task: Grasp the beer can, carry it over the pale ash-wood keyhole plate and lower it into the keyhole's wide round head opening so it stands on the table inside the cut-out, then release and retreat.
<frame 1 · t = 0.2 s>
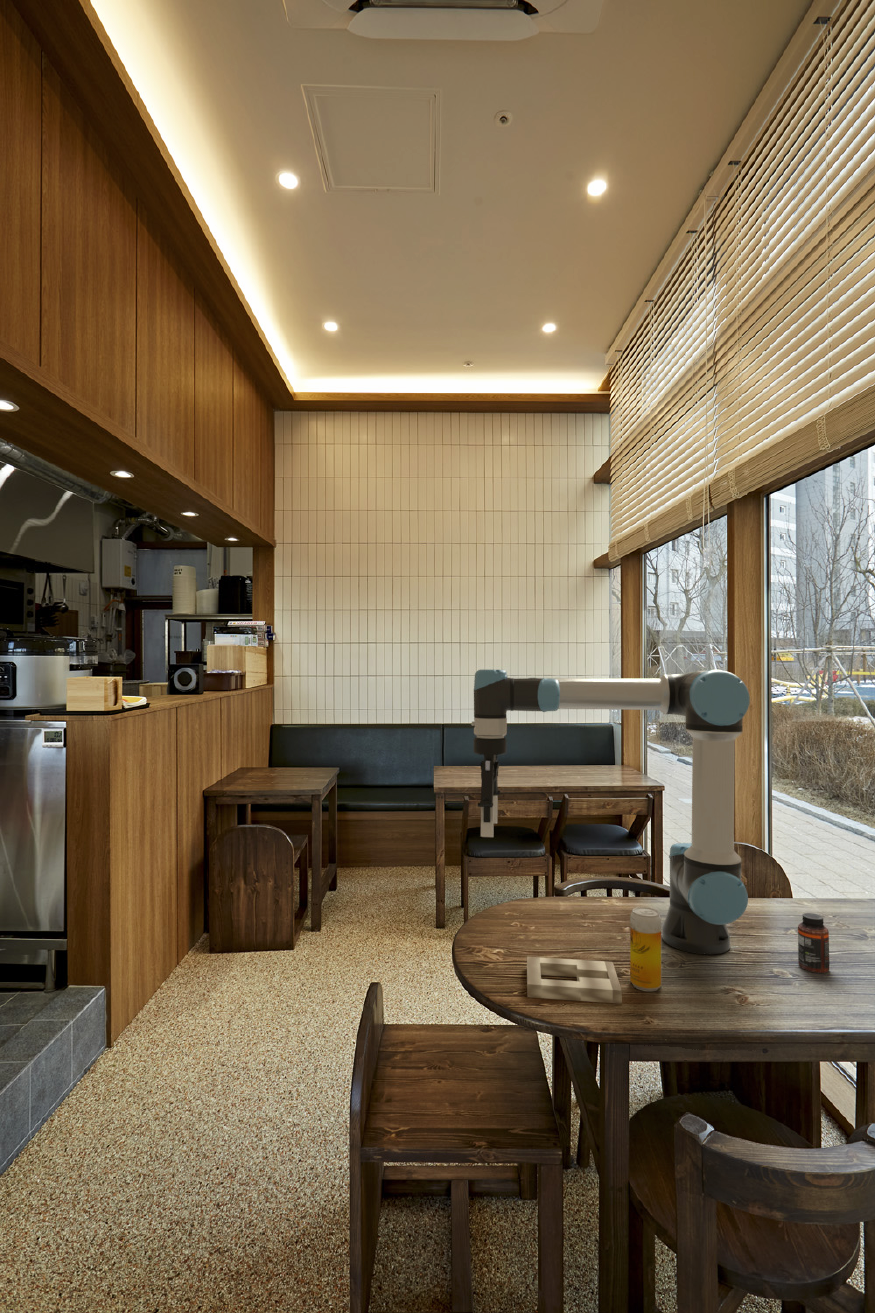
hand: (489, 829, 152), 28 cm above the table, fingers open, 13 cm apart
keyhole plate: (571, 985, 136), on the table
beer can: (645, 986, 136), on the table
supplement bottle: (813, 969, 145), on the table
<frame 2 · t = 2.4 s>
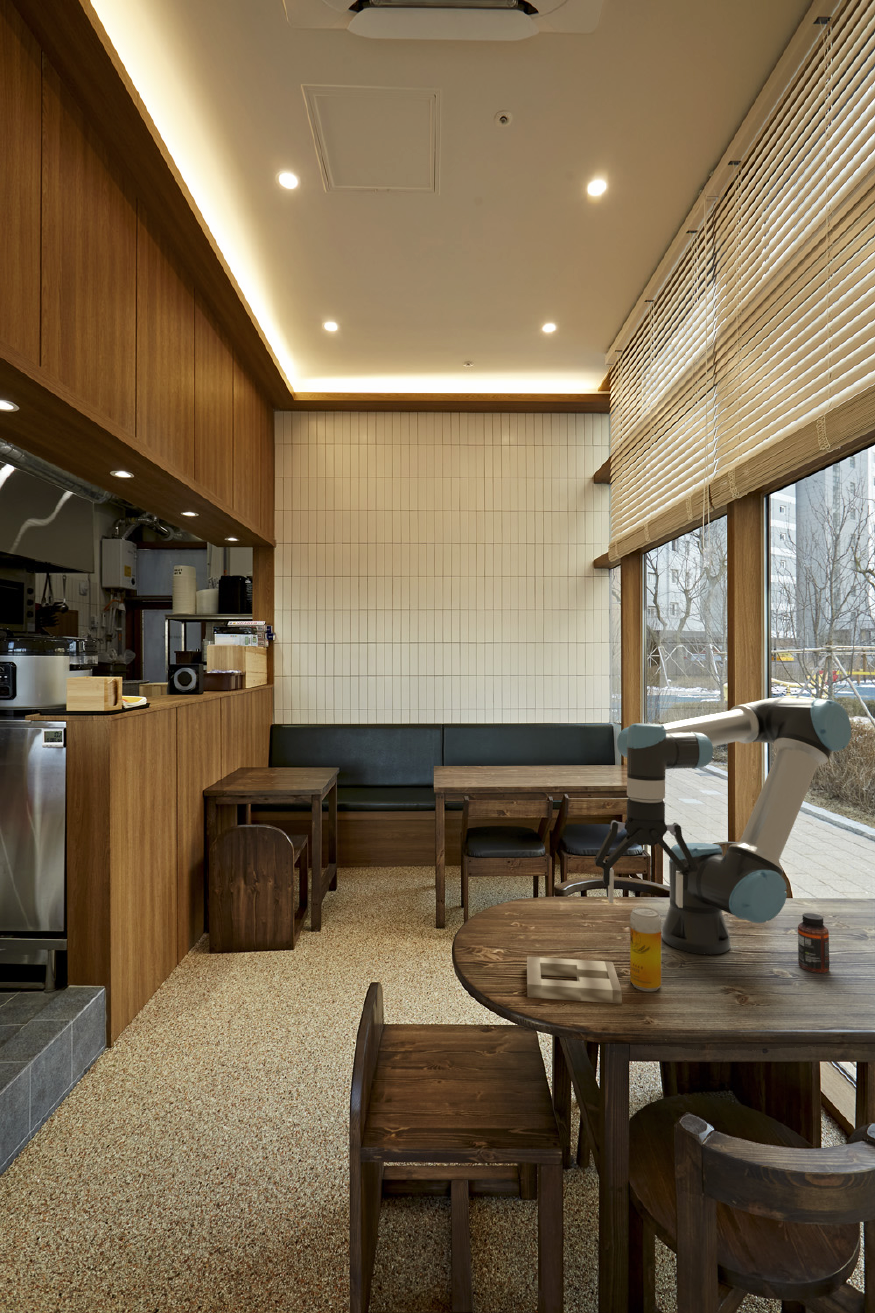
hand: (644, 903, 136), 17 cm above the table, fingers open, 13 cm apart
nothing on the table moved.
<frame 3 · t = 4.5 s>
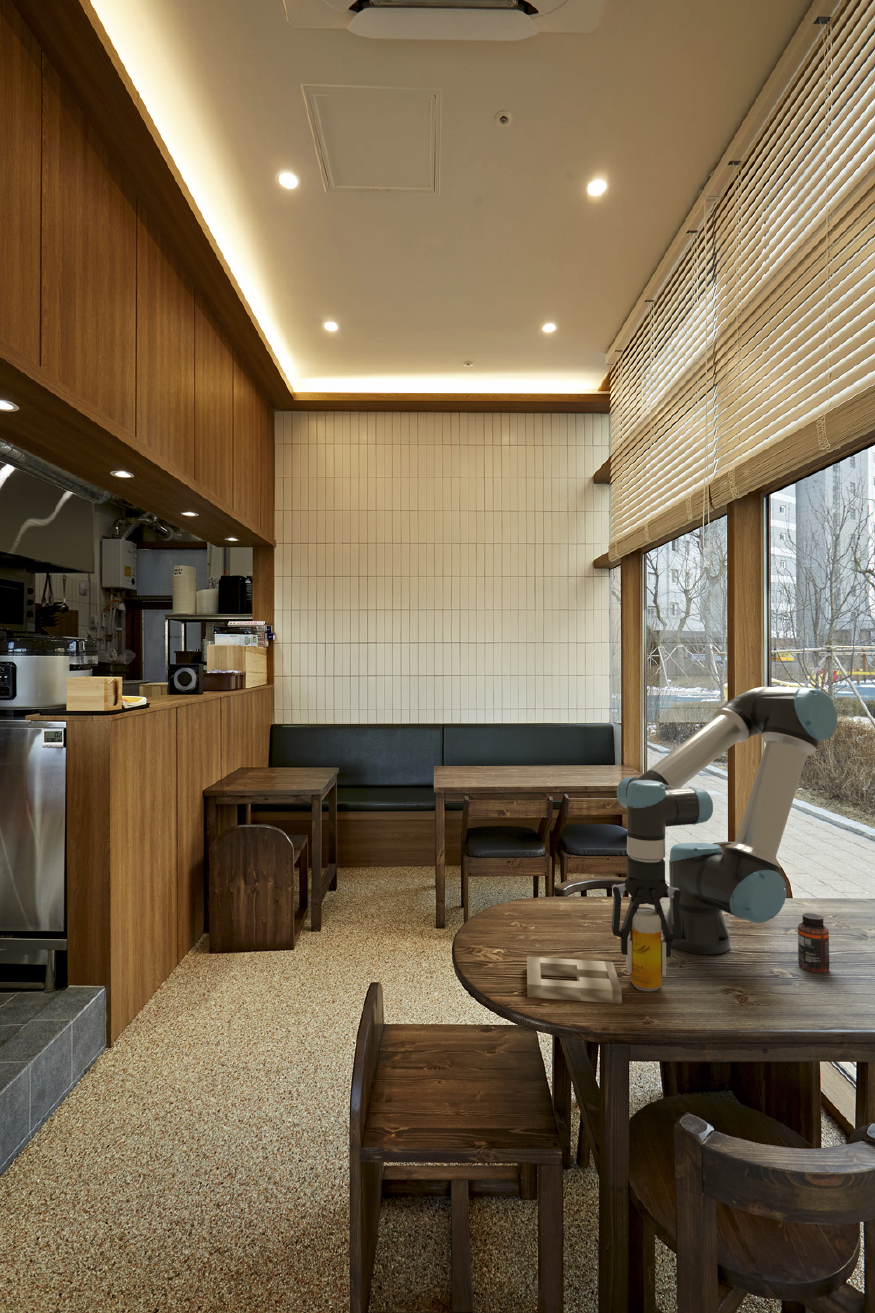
hand: (645, 971, 136), 3 cm above the table, fingers closed on beer can, 6 cm apart
beer can: (645, 986, 136), on the table, touching gripper
everything else where it was.
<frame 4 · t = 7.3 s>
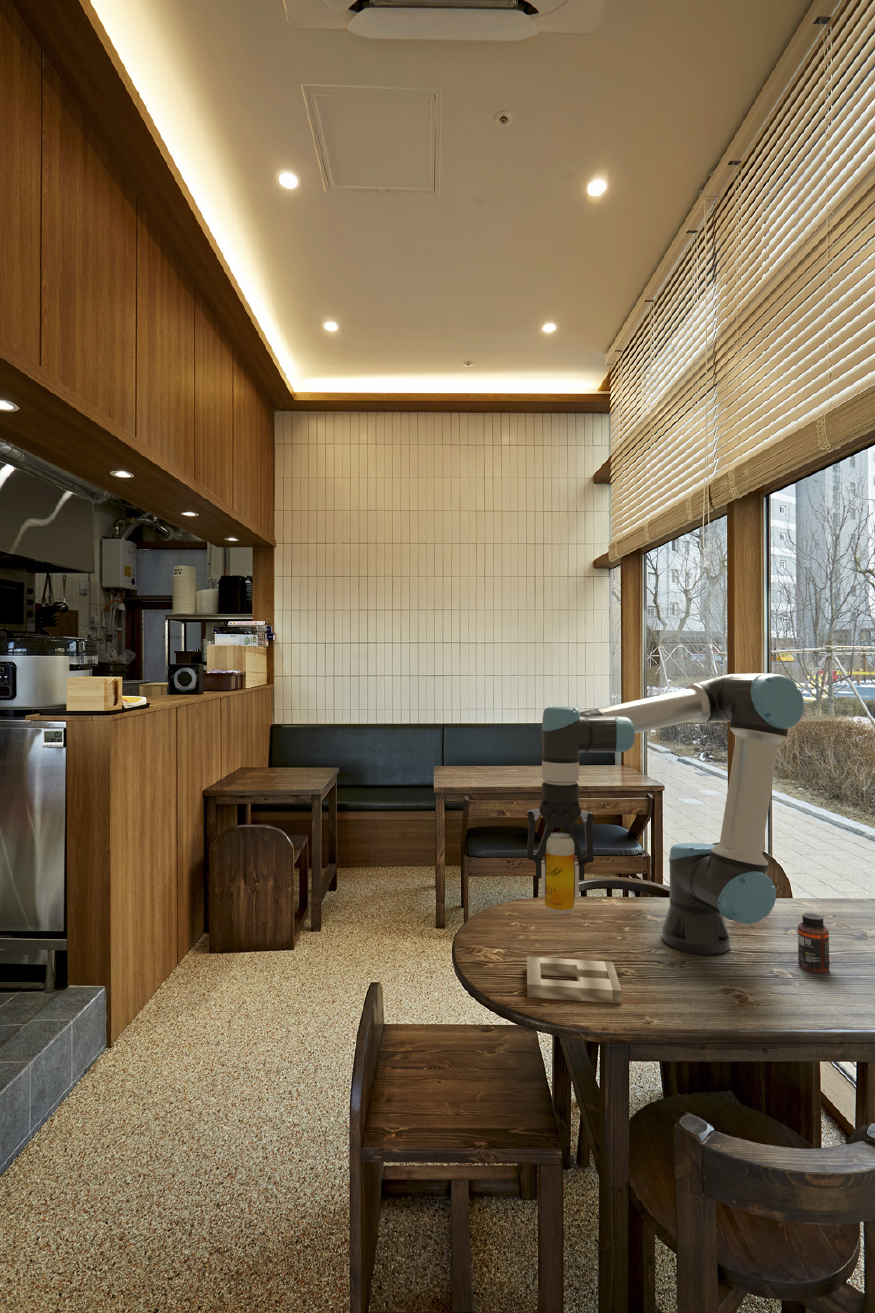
hand: (559, 894, 137), 18 cm above the table, fingers closed on beer can, 6 cm apart
beer can: (559, 910, 137), point 15 cm above the table, touching gripper
everything else where it was.
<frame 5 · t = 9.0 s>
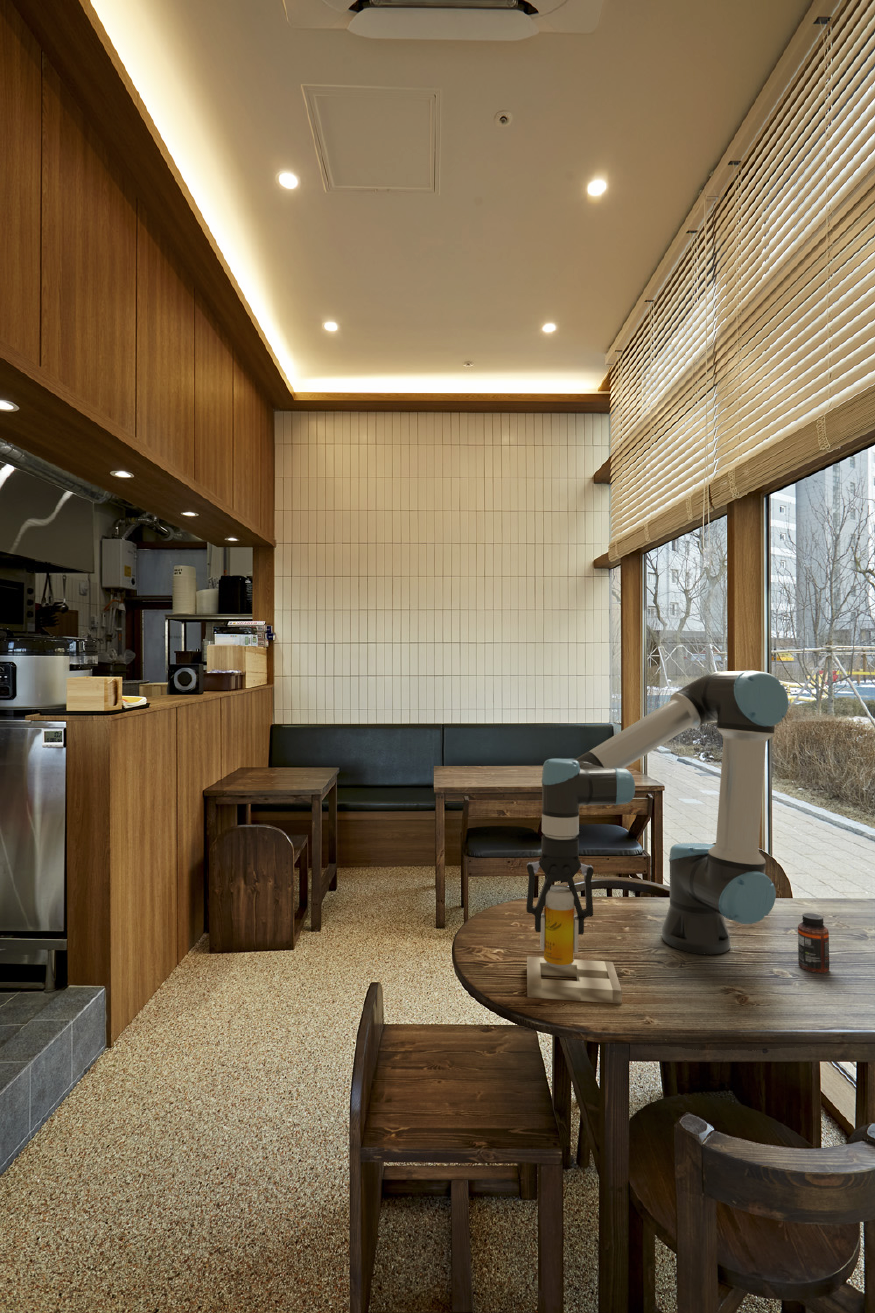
hand: (558, 948, 136), 7 cm above the table, fingers closed on beer can, 6 cm apart
beer can: (558, 964, 136), point 4 cm above the table, touching gripper
everything else where it was.
when the fingers open (5 cm above the table, at t = 10.3 s): beer can drops 2 cm, resting in keyhole plate.
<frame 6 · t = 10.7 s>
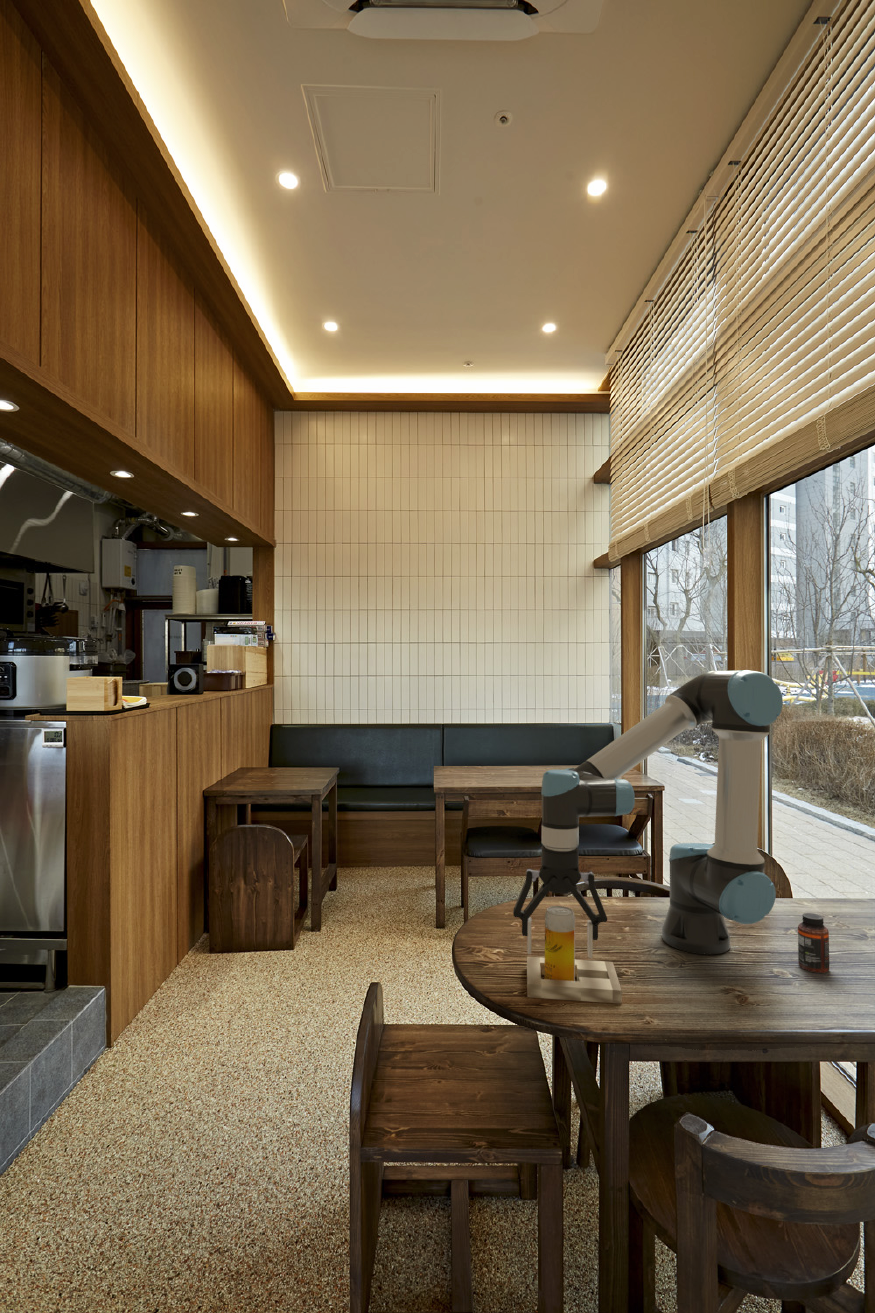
hand: (559, 953, 136), 6 cm above the table, fingers open, 11 cm apart
beer can: (559, 985, 136), resting in keyhole plate
everything else where it was.
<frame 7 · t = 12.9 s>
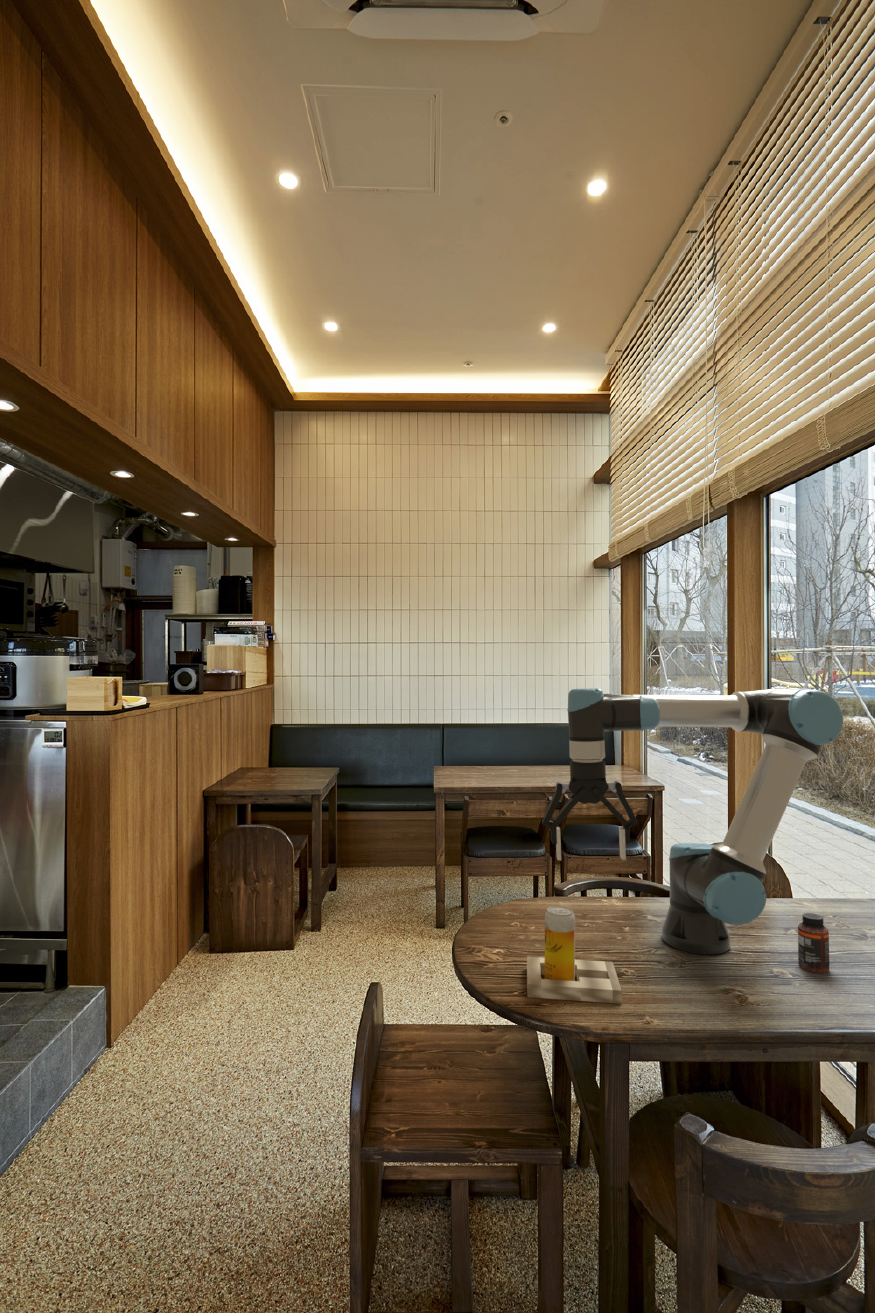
hand: (590, 858, 144), 24 cm above the table, fingers open, 13 cm apart
nothing on the table moved.
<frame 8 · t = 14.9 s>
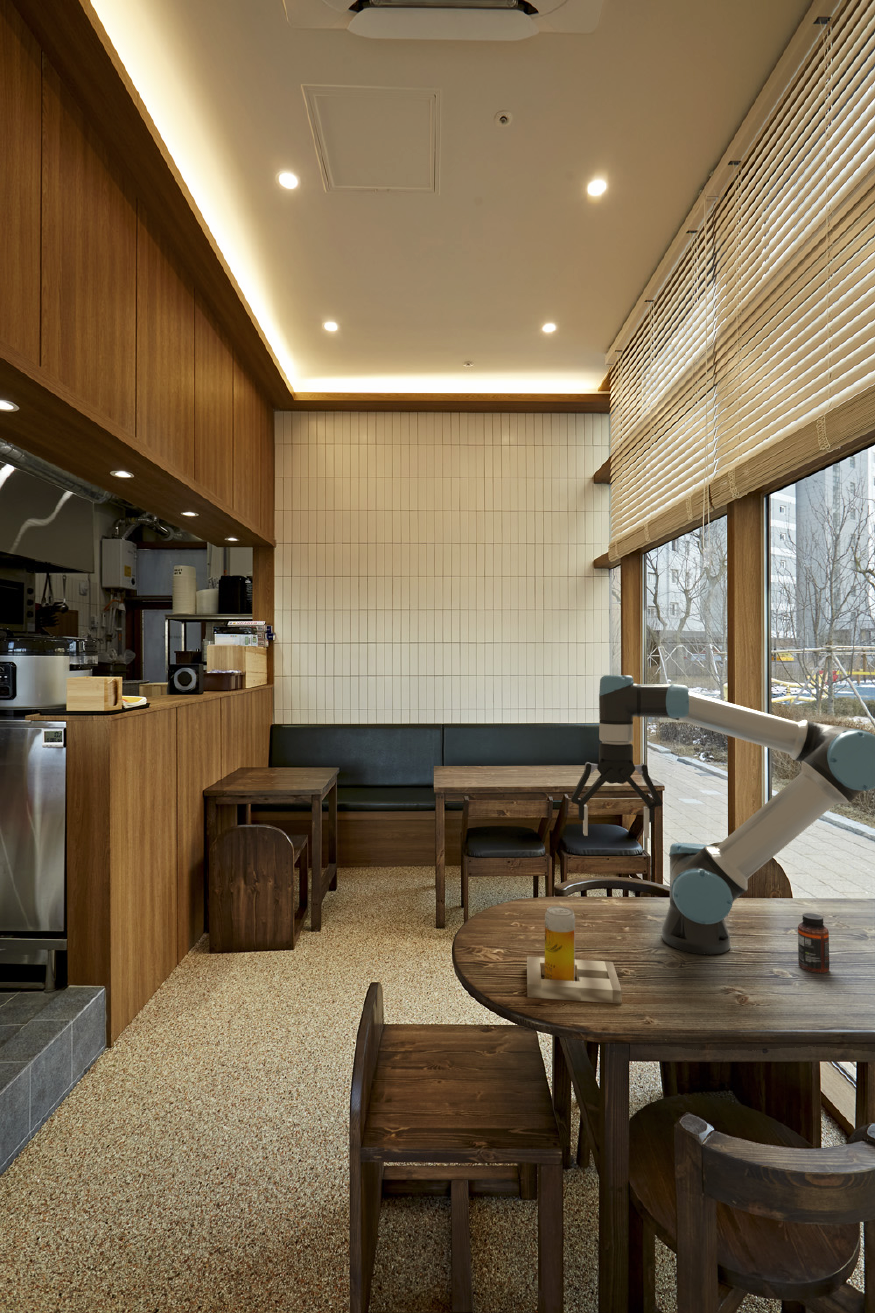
hand: (615, 835, 152), 27 cm above the table, fingers open, 13 cm apart
nothing on the table moved.
at the end: beer can 0.1 cm from the target spot on the keyhole plate, point 0.0 cm above the keyhole plate's base; beer can tilted 0°; beer can touching table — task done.
